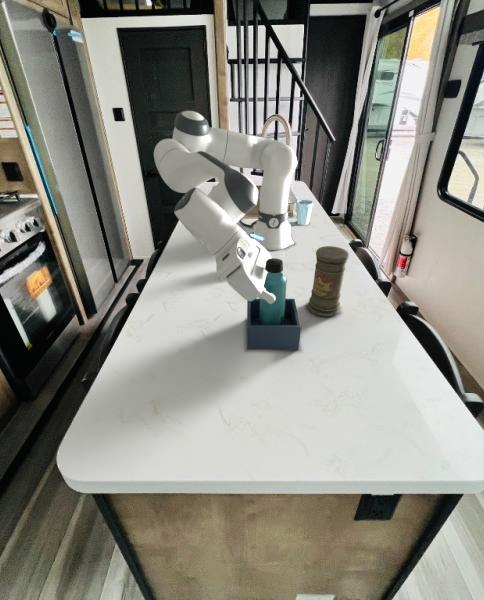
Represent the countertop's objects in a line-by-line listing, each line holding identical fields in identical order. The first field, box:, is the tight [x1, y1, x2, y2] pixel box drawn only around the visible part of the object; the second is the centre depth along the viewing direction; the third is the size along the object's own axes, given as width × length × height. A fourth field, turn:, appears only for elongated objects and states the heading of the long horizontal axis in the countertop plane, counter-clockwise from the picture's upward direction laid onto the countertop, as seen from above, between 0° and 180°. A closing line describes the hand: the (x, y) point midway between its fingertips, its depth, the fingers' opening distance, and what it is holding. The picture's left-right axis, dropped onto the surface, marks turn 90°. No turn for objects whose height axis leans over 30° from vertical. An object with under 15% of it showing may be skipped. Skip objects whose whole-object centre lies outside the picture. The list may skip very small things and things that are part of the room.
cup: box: [296, 199, 314, 226], centre depth 154 cm, size 8×8×10 cm
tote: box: [246, 298, 302, 351], centre depth 82 cm, size 13×13×7 cm
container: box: [307, 245, 350, 318], centre depth 89 cm, size 9×9×18 cm
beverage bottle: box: [258, 257, 288, 325], centre depth 78 cm, size 6×7×20 cm
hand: (275, 290), depth 76 cm, fingers open, 8 cm apart
